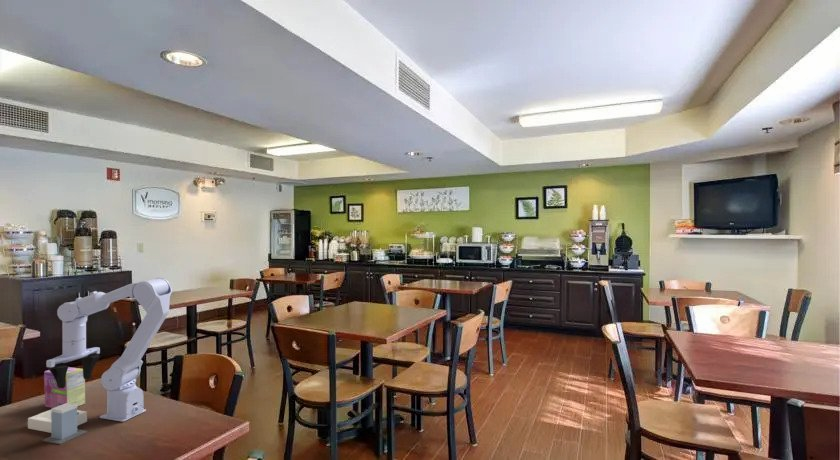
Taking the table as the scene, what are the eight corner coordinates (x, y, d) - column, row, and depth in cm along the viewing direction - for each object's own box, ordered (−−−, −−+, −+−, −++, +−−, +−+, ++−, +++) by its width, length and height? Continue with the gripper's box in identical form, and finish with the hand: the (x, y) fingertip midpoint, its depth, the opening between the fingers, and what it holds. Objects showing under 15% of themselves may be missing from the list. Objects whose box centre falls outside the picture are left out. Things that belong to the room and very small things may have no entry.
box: (43, 407, 138) (43, 370, 138) (63, 400, 143) (63, 365, 143) (66, 411, 135) (66, 374, 135) (85, 404, 140) (85, 368, 140)
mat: (86, 432, 121) (86, 430, 121) (60, 444, 114) (60, 443, 114) (70, 429, 123) (70, 427, 123) (43, 441, 116) (43, 439, 116)
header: (87, 421, 128) (86, 409, 128) (58, 434, 120) (58, 421, 120) (57, 416, 131) (57, 404, 131) (27, 428, 123) (27, 416, 123)
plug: (77, 432, 120) (77, 404, 120) (61, 439, 116) (61, 410, 116) (67, 430, 121) (66, 402, 121) (51, 437, 117) (51, 408, 117)
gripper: (88, 333, 140) (88, 373, 140) (38, 344, 126) (39, 390, 126) (104, 334, 138) (104, 376, 138) (56, 346, 124) (56, 392, 124)
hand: (74, 383), depth 132 cm, fingers open, 7 cm apart
